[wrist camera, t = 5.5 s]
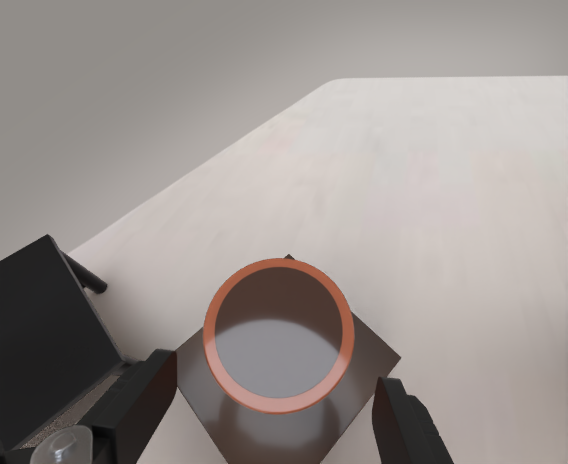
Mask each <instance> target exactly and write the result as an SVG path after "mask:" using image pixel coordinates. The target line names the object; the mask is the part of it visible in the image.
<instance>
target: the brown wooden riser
mask: <svg viewBox="0 0 568 464" xmlns="http://www.w3.org/2000/svg"><path fill="white" fill-rule="evenodd" d="M284 259H292V260H295V259H294V258H293V257H292V256H291V255H290V254H288V255H287V256H286V257H285V258H284ZM351 314H352V317H353V323H354V335H355V339H354V349H353V353H352V358H351V361H350V364H349V366H348V369H347V371H346V373H345V374H344V376H343V378H342V380H341V381H340V382H339V384H338V385H337V387H336V388H335V389H334V390H333V391H332V392H331V393H330V394H329V395H328V396H327V397H325V398H324V399H323V400H322V401H320V402H319V403H317V404H315V405H313V406H312V407H310V408H308V409H305V410H302V411H300V412H296V413H291V414H283V415H272V414H264V413H260V412H256V411H253V410H251V409H248V408H246V407H244V406H242V405H240V404H239V403H237V402H236V401H234V400H233V399H232V398H231V397H229V396H228V395H227V394H226V393H225V392H224V391H223V390H222V388H221V387H220V386H219V385H218V384H217V382H216V380H215V379H214V377H213V376H212V374H211V372H210V369H209V367H208V365H207V361H206V358H205V354H204V347H203V328H204V327H202V328H201V329H200V330H199V331H198V332H197V333H195V334H194V335H193V336H192V337H191V338H189V339H188V340H187V341H186V342H185V343H184V344H182V345H181V346H180V347H179V348H178V349H177V350H175V351H176V353H177V387H178V388H179V390H180V391H181V393H182V394H183V396H184V397H185V399H186V400H187V402H188V404H189V405H190V407H191V408H192V410H193V411H194V413H195V414H196V416H197V417H198V419H199V420H200V422H201V423H202V425H203V426H204V428H205V429H206V431H207V432H208V434H209V435H210V437H211V439H212V440H213V442H214V443H215V445H216V446H217V448H218V449H219V451H220V452H221V454H222V455H223V457H224V458H225V460H226V461H227V463H228V464H320V463H321V461H322V460H323V459H324V457H325V456H326V455H327V454H328V452H329V451H330V450H331V448H332V447H333V446H334V444H335V443H336V442H337V441H338V439H339V438H340V437H341V435H342V434H343V433H344V432H345V430H346V429H347V428H348V426H349V425H350V424H351V422H352V421H353V420H354V419H355V417H356V416H357V415H358V413H359V412H360V411H361V410H362V408H363V407H364V406H365V404H366V403H367V402H368V400H369V399H370V398H371V397H372V395H373V394H374V393H375V390H376V385H377V380H378V377H387V376H388V375H389V373H390V372H391V371H392V369H393V368H394V367H395V366H396V364H397V363H398V362H399V360H400V359H401V357H400V356H399V355H398V354H397V353H396V352H395V351H394V350H393V349H392V348H390V347H389V346H388V345H387V344H386V343H385V342H384V341H383V340H382V339H381V338H380V337H379V336H377V335H376V334H375V333H374V332H373V331H372V330H371V329H370V328H369V327H368V326H367V325H365V324H364V323H363V322H362V321H361V320H360V319H359V318H358V317H357V316H356V315H355V314H354V313H352V312H351Z"/></svg>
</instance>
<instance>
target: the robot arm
mask: <svg viewBox="0 0 568 464" xmlns="http://www.w3.org/2000/svg"><path fill="white" fill-rule="evenodd" d="M176 390H177V353H176V351H171V350H163V349H156V350H155V351H154V352H153V353H152V354H151V355H150V356H149V358H148V359H147V360H146V361H139V362H137V363H136V364H134V365H132V366H131V367H129V368H128V369H126V370H125V372H124V373H123V374H122V375H121V376H120V377H119V378H118V379H117V382H115V383H114V384H113V385H112V386H111V387H110V388H109V390H108V391H106V392H105V393H104V395H103V396H102V397H101V398H100V399H99V400H98V401H97V402H96V403H95V404H94V406H93V407H92V408H91V409H90V410H89V411H88V412H87V413H86V414H85V415H84V417H83V418H82V419H81V420H80V421H79V422H78V423H77V424H76V425H74V426H69V427H65V428H63V429H60V430H58V431H56V432H54V433H53V434H51V435H50V436H48V437H47V438H45V439H44V440H43V441H42V442H41V443H40V444H39V445H38V446H36V447H30V448H24V449H18V450H11V451H5V452H4V448H3V443H2V441H1V440H0V464H136V463H137V461H138V459H139V457H140V456H141V454H142V452H143V451H144V449H145V447H146V446H147V444H148V442H149V440H150V439H151V437H152V435H153V434H154V432H155V430H156V429H157V427H158V425H159V423H160V422H161V420H162V418H163V417H164V415H165V413H166V411H167V410H168V408H169V406H170V405H171V403H172V401H173V399H174V397H175V394H176ZM372 425H373V430H374V434H375V438H376V442H377V446H378V450H379V454H380V458H381V462H382V464H454V463H453V461H452V459H451V457H450V455H449V453H448V451H447V449H446V447H445V445H444V443H443V441H442V439H441V437H440V436H439V432H438V430H437V428H436V426H435V424H433V420H432V418H431V416H430V414H429V412H428V410H427V408H426V407H425V406H424V405H423V404H422V403H421V402H420V401H419V400H418V399H417V398H416V396H412V395H407V394H406V391H405V389H404V387H403V385H402V382H401V380H400V379H396V378H387V377H378V380H377V385H376V390H375V396H374V402H373V408H372Z"/></svg>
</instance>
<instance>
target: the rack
mask: <svg viewBox="0 0 568 464" xmlns="http://www.w3.org/2000/svg"><path fill="white" fill-rule="evenodd" d="M85 287H87V288H88V289H90V290H91V291H93V292H95V293H96V294H100V293H103V292H104V291H105V290H106V288H107V284H106V283H105V282H104V281H102V280H101V279H100V278H98V277H97V276H95V275H94V274H93V273H91V272H90V271H89V270H87V269H86V268H84V267H83V266H82V265H80V264H79V263H77V262H76V261H75V260H73V259H72V258H71V257H69V256H68V255H66V254H65V253H64V252H62V251H61V250H60V249H59V248H58V246H57V244H56V242H55V241H54V239H53V238H52V237H51V236H49V235H48V234H47V235H45V236H43V237H41V238H40V239H38V240H37V241H35V242H33V243H31V244H29V245H27V246H26V247H24V248H22V249H21V250H19V251H17V252H15V253H13V254H12V255H10V256H8V257H6V258H5V259H3V260H1V261H0V440H1V441H2V443H3V448H4V452H5V451H11V450H18V449H19V448H21V447H22V446H23V445H24V444H26V443H27V442H28V441H29V440H31V439H32V438H33V437H34V436H35V435H37V434H38V433H39V432H40V431H42V430H43V429H44V428H45V427H47V426H48V425H49V424H50V423H52V422H53V421H54V420H55V419H57V418H58V417H59V416H60V415H61V414H63V413H64V412H65V411H66V410H68V409H69V408H70V407H71V406H73V405H74V404H75V403H76V402H78V401H79V400H80V399H81V398H83V397H84V396H85V395H86V394H87V393H89V392H90V391H91V390H92V389H94V388H95V387H96V386H97V385H99V384H100V383H101V382H102V381H104V380H105V379H106V378H107V377H109V376H110V375H111V374H113V375H117V376H121V375H122V374H123V373H124V372H125V370H126V369H128V368H129V367H131V366H132V365H134V364H136V363H137V362H139V361H140V360H137V359H135V358H132V357H129V356H126V355H123V354H122V353H121V352H120V350H119V348H118V346H117V345H116V343H115V341H114V340H113V338H112V336H111V335H110V333H109V331H108V330H107V328H106V326H105V325H104V323H103V321H102V320H101V318H100V316H99V315H98V313H97V311H96V310H95V308H94V306H93V305H92V303H91V301H90V300H89V298H88V296H87V294H86V293H85V291H84V288H85Z"/></svg>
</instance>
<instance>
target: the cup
mask: <svg viewBox="0 0 568 464" xmlns="http://www.w3.org/2000/svg"><path fill="white" fill-rule="evenodd" d="M354 339H355V335H354V323H353V317H352V314H351V311H350V308H349V305H348V303H347V301H346V299H345V297H344V295H343V294H342V292H341V291H340V289H339V288H338V287H337V285H336V284H335V283H334V282H333V281H332V280H331V279H330V278H329V277H328V276H327V275H325V274H324V273H323V272H322V271H320V270H318V269H317V268H315V267H313V266H311V265H309V264H307V263H304V262H301V261H297V260H292V259H284V258H275V259H267V260H262V261H258V262H255V263H253V264H250V265H248V266H246V267H244V268H242V269H240V270H239V271H237V272H236V273H235V274H233V275H232V276H231V277H230V278H229V279H228V280H226V281H225V283H224V284H223V285H222V286H221V287H220V288H219V290H218V291H217V293H216V294H215V296H214V297H213V299H212V301H211V303H210V305H209V308H208V311H207V313H206V317H205V321H204V328H203V347H204V354H205V358H206V361H207V365H208V367H209V369H210V372H211V374H212V376H213V377H214V379H215V380H216V382H217V384H218V385H219V386H220V387H221V388H222V390H223V391H224V392H225V393H226V394H227V395H228V396H229V397H231V398H232V399H233V400H234V401H236V402H237V403H239V404H240V405H242V406H244V407H246V408H248V409H251V410H253V411H256V412H260V413H264V414H272V415H283V414H291V413H296V412H300V411H302V410H305V409H308V408H310V407H312V406H313V405H315V404H317V403H319V402H320V401H322V400H323V399H324V398H325V397H327V396H328V395H329V394H330V393H331V392H332V391H333V390H334V389H335V388H336V387H337V385H338V384H339V382H340V381H341V380H342V378H343V376H344V374H345V373H346V371H347V369H348V366H349V364H350V361H351V358H352V353H353V349H354Z"/></svg>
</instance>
